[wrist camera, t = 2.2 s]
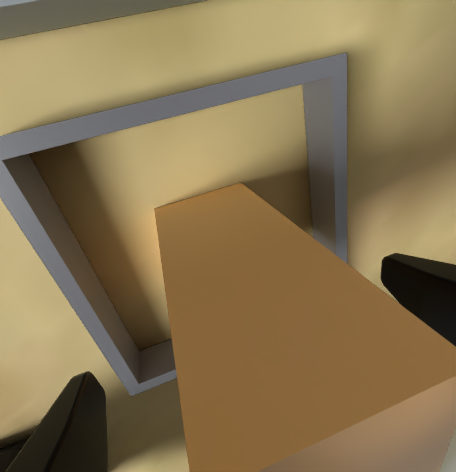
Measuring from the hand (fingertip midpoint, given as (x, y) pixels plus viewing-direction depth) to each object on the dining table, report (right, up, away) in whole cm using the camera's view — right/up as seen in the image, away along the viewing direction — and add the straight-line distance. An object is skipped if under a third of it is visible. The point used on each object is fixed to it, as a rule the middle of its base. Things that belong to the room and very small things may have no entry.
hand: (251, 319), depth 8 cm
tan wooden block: (-2, +2, +5) cm, 6 cm away
